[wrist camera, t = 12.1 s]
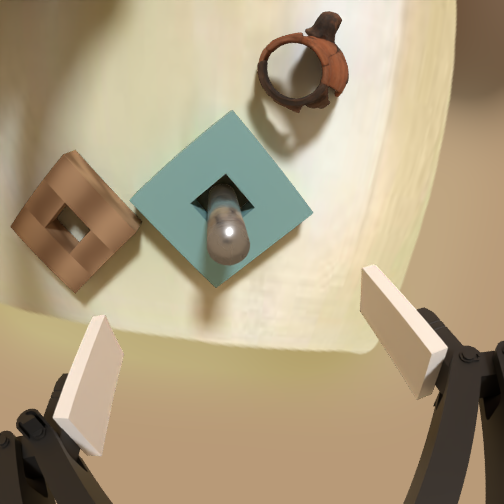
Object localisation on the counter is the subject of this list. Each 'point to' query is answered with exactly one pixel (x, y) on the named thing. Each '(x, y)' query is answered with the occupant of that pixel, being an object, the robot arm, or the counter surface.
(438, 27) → the counter surface
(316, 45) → the brown ring with knob
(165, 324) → the counter surface
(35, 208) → the pin mount
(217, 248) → the pin
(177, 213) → the dock socket
